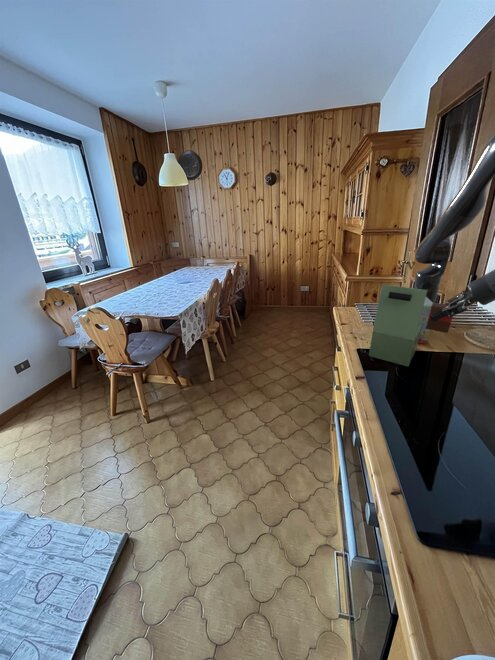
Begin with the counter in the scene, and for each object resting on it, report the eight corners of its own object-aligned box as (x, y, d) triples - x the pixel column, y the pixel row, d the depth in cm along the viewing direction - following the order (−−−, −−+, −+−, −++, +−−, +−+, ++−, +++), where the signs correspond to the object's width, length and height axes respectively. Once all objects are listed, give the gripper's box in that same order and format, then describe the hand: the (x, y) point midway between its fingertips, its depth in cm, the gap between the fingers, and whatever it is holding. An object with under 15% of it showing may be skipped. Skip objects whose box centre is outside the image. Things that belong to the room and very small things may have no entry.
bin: (380, 339, 110) (384, 316, 106) (416, 348, 103) (422, 323, 99) (368, 355, 100) (372, 331, 96) (408, 366, 93) (414, 340, 89)
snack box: (428, 344, 105) (438, 306, 99) (411, 343, 106) (420, 306, 100) (410, 320, 124) (418, 287, 117) (396, 320, 125) (403, 287, 118)
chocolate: (427, 324, 95) (433, 302, 91) (449, 328, 91) (455, 305, 88) (425, 328, 92) (431, 305, 89) (447, 333, 89) (454, 309, 85)
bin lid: (382, 284, 91) (378, 285, 87) (427, 290, 84) (425, 291, 80) (373, 329, 96) (368, 332, 92) (414, 339, 89) (412, 342, 85)
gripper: (485, 269, 84) (428, 300, 96) (484, 281, 74) (421, 314, 87) (502, 288, 83) (443, 317, 96) (503, 304, 74) (437, 334, 86)
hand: (433, 316), depth 91 cm, fingers closed on chocolate, 3 cm apart
